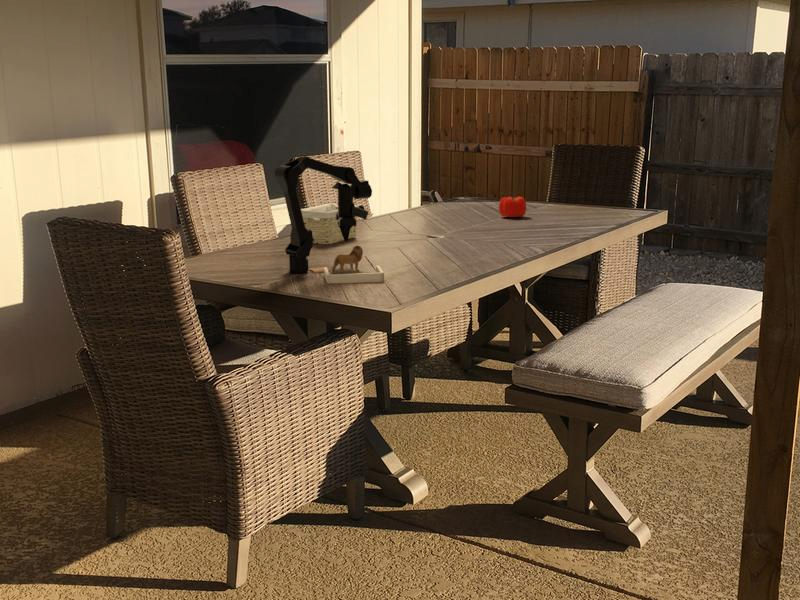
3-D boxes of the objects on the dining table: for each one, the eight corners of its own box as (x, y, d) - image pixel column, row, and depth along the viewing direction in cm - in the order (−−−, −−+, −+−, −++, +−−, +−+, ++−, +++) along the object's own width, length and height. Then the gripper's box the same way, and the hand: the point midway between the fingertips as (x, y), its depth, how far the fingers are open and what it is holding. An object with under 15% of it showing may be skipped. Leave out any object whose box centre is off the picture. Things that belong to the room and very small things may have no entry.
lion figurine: (356, 267, 364) (356, 244, 362) (366, 269, 360) (366, 245, 358) (327, 273, 353) (327, 249, 351) (337, 275, 350) (337, 251, 348)
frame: (327, 283, 336) (326, 275, 336) (324, 275, 350) (323, 267, 349) (384, 281, 339) (384, 273, 338) (378, 273, 353) (378, 265, 352)
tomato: (526, 215, 491) (526, 195, 489) (525, 219, 479) (526, 198, 476) (499, 215, 493) (499, 195, 491) (498, 219, 480) (498, 198, 478)
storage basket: (329, 246, 410) (328, 211, 407) (298, 242, 418) (297, 209, 415) (359, 237, 430) (359, 204, 427) (329, 234, 438) (329, 202, 435)
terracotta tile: (314, 274, 354) (314, 271, 354) (309, 271, 360) (309, 268, 360) (330, 273, 357) (329, 269, 357) (324, 270, 362) (324, 266, 362)
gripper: (369, 202, 355) (370, 244, 358) (364, 196, 373) (364, 236, 376) (339, 203, 353) (340, 245, 357) (335, 197, 371) (336, 237, 375)
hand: (346, 241), depth 366 cm, fingers closed
